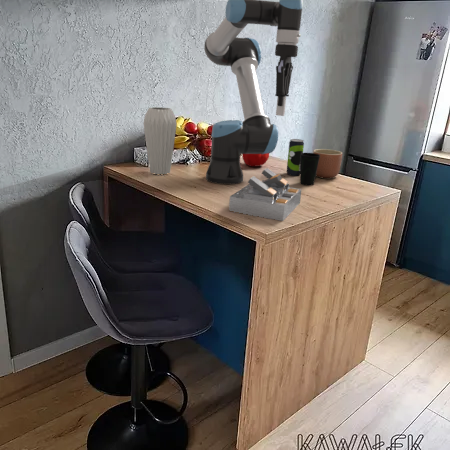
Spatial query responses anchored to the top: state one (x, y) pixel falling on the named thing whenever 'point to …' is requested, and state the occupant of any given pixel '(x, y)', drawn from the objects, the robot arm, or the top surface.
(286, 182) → the switch
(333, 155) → the planter
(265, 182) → the switch
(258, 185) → the switch
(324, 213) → the top surface
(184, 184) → the top surface
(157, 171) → the vase
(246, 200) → the switch unit
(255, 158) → the tomato
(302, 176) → the cup
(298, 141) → the beverage can
